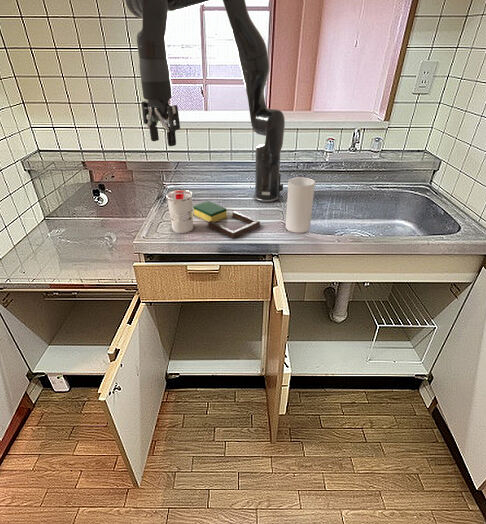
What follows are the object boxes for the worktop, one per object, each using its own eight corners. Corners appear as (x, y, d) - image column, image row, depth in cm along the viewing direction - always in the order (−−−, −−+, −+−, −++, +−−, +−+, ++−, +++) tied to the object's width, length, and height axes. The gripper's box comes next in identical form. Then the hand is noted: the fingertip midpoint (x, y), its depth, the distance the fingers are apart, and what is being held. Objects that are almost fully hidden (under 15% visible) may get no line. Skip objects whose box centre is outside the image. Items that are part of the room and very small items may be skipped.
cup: (309, 233, 115) (315, 186, 107) (284, 231, 117) (287, 185, 108) (310, 222, 122) (315, 177, 114) (286, 221, 124) (289, 176, 115)
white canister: (190, 236, 115) (186, 201, 108) (165, 233, 116) (160, 199, 110) (199, 222, 123) (196, 190, 117) (176, 221, 124) (172, 188, 118)
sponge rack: (235, 216, 127) (234, 211, 126) (259, 226, 120) (259, 221, 119) (208, 227, 120) (208, 221, 119) (233, 239, 113) (233, 233, 112)
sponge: (208, 209, 133) (208, 200, 131) (226, 217, 127) (226, 208, 125) (194, 214, 129) (193, 206, 127) (211, 223, 123) (211, 214, 121)
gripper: (184, 79, 89) (189, 145, 98) (153, 76, 98) (160, 137, 106) (158, 81, 85) (166, 150, 93) (128, 78, 93) (138, 141, 102)
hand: (163, 143), depth 100 cm, fingers open, 8 cm apart
